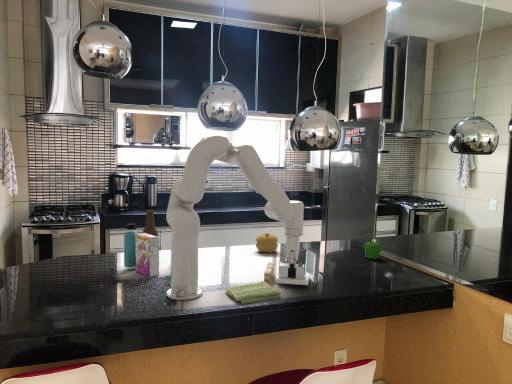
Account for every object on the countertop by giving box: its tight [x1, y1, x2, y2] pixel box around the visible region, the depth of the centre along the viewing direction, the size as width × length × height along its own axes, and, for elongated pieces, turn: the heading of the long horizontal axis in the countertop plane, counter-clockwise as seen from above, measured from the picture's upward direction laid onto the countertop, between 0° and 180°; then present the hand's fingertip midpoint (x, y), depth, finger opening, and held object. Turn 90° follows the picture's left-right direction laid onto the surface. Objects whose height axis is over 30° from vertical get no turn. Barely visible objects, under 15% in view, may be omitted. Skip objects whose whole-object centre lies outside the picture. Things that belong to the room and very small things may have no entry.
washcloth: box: [225, 280, 282, 304], centre depth 145 cm, size 13×18×3 cm
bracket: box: [275, 272, 309, 286], centre depth 163 cm, size 8×13×2 cm, turn 83°
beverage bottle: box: [123, 223, 140, 269], centre depth 174 cm, size 6×7×20 cm
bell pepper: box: [363, 239, 382, 260], centre depth 203 cm, size 8×8×10 cm
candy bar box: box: [135, 232, 160, 278], centre depth 168 cm, size 11×5×16 cm, turn 47°
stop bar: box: [278, 262, 305, 279], centre depth 162 cm, size 4×10×6 cm, turn 83°
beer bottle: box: [141, 209, 159, 237], centre depth 189 cm, size 8×8×24 cm
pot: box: [255, 232, 279, 254], centre depth 213 cm, size 12×12×10 cm
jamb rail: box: [263, 262, 275, 286], centre depth 164 cm, size 16×2×5 cm, turn 173°
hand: (291, 275), depth 162 cm, fingers closed on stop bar, 4 cm apart
